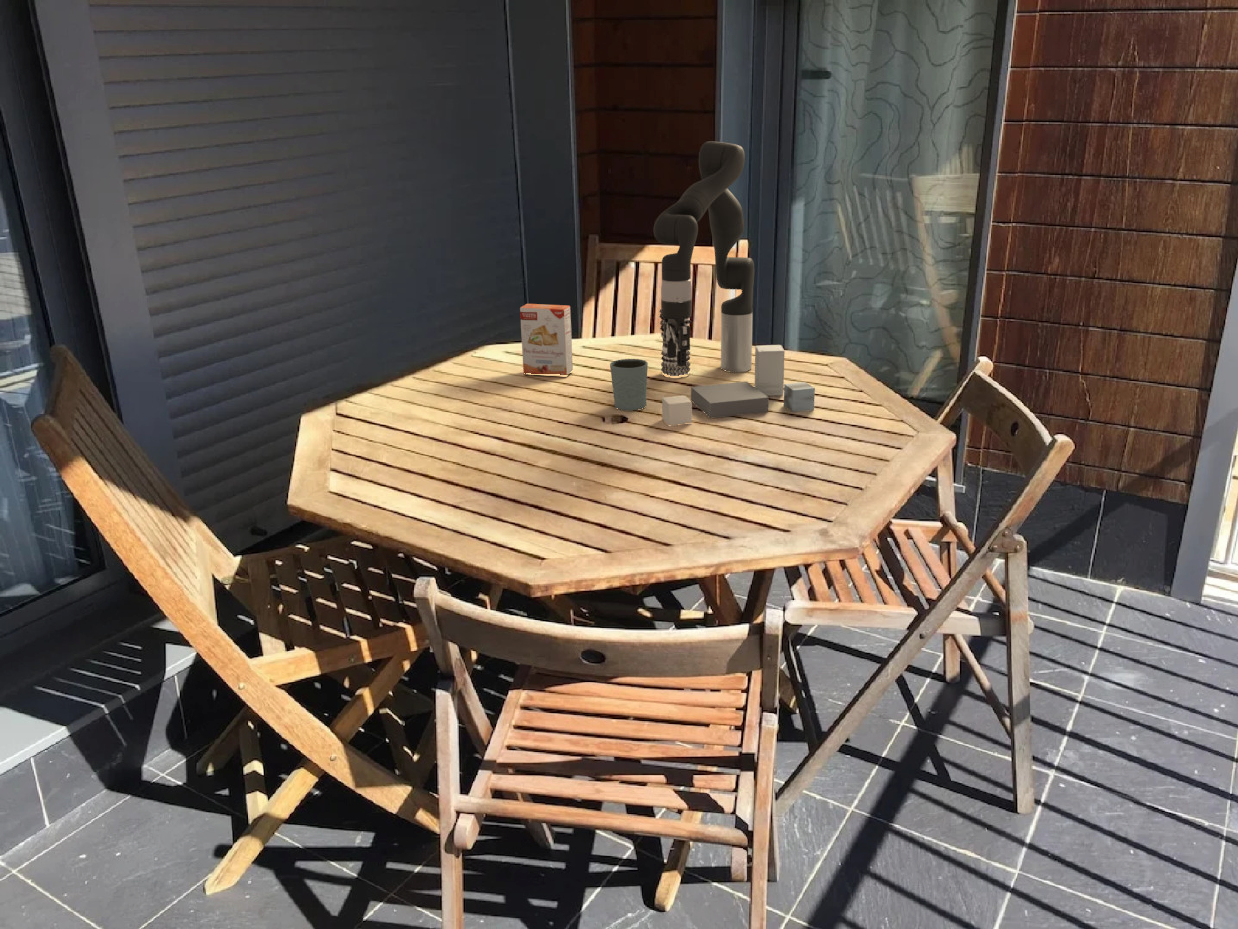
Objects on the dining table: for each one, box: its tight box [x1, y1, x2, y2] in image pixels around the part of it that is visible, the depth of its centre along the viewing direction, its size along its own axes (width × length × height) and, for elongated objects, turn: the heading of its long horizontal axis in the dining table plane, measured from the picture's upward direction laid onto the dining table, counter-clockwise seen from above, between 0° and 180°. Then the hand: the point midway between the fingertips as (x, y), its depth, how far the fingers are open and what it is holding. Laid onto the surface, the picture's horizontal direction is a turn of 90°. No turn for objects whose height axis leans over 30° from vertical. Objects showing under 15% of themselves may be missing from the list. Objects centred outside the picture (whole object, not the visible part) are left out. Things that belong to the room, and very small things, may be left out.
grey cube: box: [783, 381, 816, 413], centre depth 274 cm, size 6×6×6 cm
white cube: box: [661, 395, 693, 426], centre depth 265 cm, size 6×6×6 cm
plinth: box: [690, 381, 770, 419], centre depth 276 cm, size 16×16×4 cm
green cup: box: [609, 358, 649, 412], centre depth 278 cm, size 10×10×12 cm
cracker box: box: [519, 303, 574, 375], centre depth 308 cm, size 14×6×21 cm, turn 73°
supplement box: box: [754, 344, 786, 397], centre depth 287 cm, size 7×7×13 cm
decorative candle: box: [658, 309, 692, 376], centre depth 304 cm, size 9×9×25 cm
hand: (676, 361), depth 261 cm, fingers open, 8 cm apart
